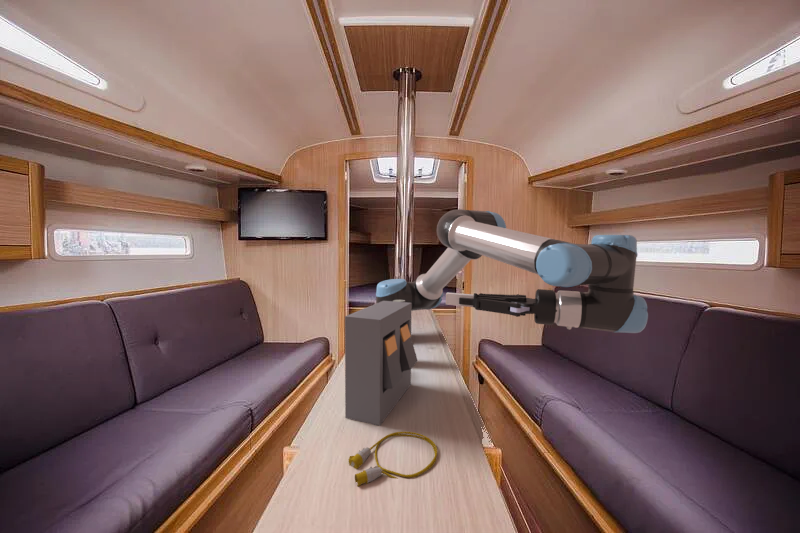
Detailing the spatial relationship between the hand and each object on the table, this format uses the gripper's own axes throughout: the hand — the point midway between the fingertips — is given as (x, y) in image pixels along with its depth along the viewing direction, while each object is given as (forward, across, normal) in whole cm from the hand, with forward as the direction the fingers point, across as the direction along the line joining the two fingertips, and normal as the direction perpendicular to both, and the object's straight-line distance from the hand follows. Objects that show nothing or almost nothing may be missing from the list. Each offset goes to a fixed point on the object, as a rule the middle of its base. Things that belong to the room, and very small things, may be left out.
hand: (446, 298), depth 74 cm
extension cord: (+3, -25, -25) cm, 35 cm away
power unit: (+13, -8, -24) cm, 29 cm away
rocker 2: (+8, -3, -17) cm, 19 cm away
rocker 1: (+8, -13, -17) cm, 23 cm away
